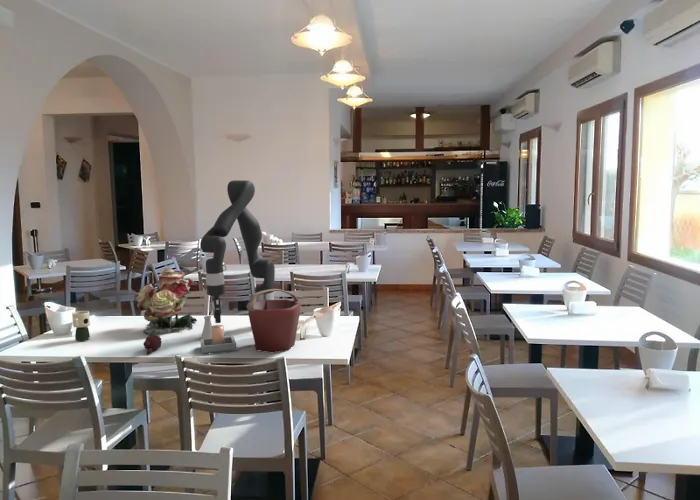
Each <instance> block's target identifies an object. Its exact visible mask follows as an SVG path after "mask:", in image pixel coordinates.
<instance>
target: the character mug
mask: <svg viewBox="0 0 700 500" xmlns="http://www.w3.org/2000/svg"><path fill="white" fill-rule="evenodd" d="M71 315H72V316H71V317H72V325H73V328H75V336H74V339H75V341H80V342H83V341H88V340H90V339H91V335H90V331H89V326H91V321H90V318H91V317H90V311H89V310H78V311H74V312H72V314H71Z"/></svg>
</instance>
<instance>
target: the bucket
mask: <svg viewBox="0 0 700 500" xmlns="http://www.w3.org/2000/svg"><path fill="white" fill-rule="evenodd" d="M271 291H274V292H282V293H285V294H287V295H289V296H290V297H292V298H293V300H291V299H287V298H286V299H274V300H262V301H257V302H256V298H257V296H259V295H261V294H264V293H267V292H271ZM245 307H246V309H247V311H248V320H249V323H250V327H251V331H252V337H253V341H254V345H255V350H256V351H258V352H264V353H270V352H273V353H279V351H280V352H286V351H285V350H287V351H289V350H290V349H292V348H293V347H295V345H296V339H297V338H296V337H297V333H298V332H297V331H298V326H299V319H300V315H301V303H300V302H299V298H298V297H297V296H296V295H295V294H294V293H291V292H289V291H287V290H283V289H279V288H274V289H268V290H263V291H260V292H257V293H255V292H254V293H252V294H251V295H250V300H249V302H248V303H247V305H246V306H245ZM291 347H292V348H291Z"/></svg>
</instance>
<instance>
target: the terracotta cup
mask: <svg viewBox="0 0 700 500" xmlns="http://www.w3.org/2000/svg"><path fill="white" fill-rule="evenodd" d="M224 327H225V326H224V325H222V324H213V325H212V326H211V334H212V345H216V344H225V343H224V337H225V328H224Z"/></svg>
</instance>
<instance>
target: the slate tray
mask: <svg viewBox="0 0 700 500" xmlns="http://www.w3.org/2000/svg"><path fill="white" fill-rule="evenodd" d="M224 343H225V344H216V345H212V338H207V339H200V350H201V355H202V354H206V355H210V354H209V353H216V354H221V353H220V352H226V353H233V352H232V351H236V352H237V342H236V339H235V337H234V335H232V336H230V335H229V336H224Z"/></svg>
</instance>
